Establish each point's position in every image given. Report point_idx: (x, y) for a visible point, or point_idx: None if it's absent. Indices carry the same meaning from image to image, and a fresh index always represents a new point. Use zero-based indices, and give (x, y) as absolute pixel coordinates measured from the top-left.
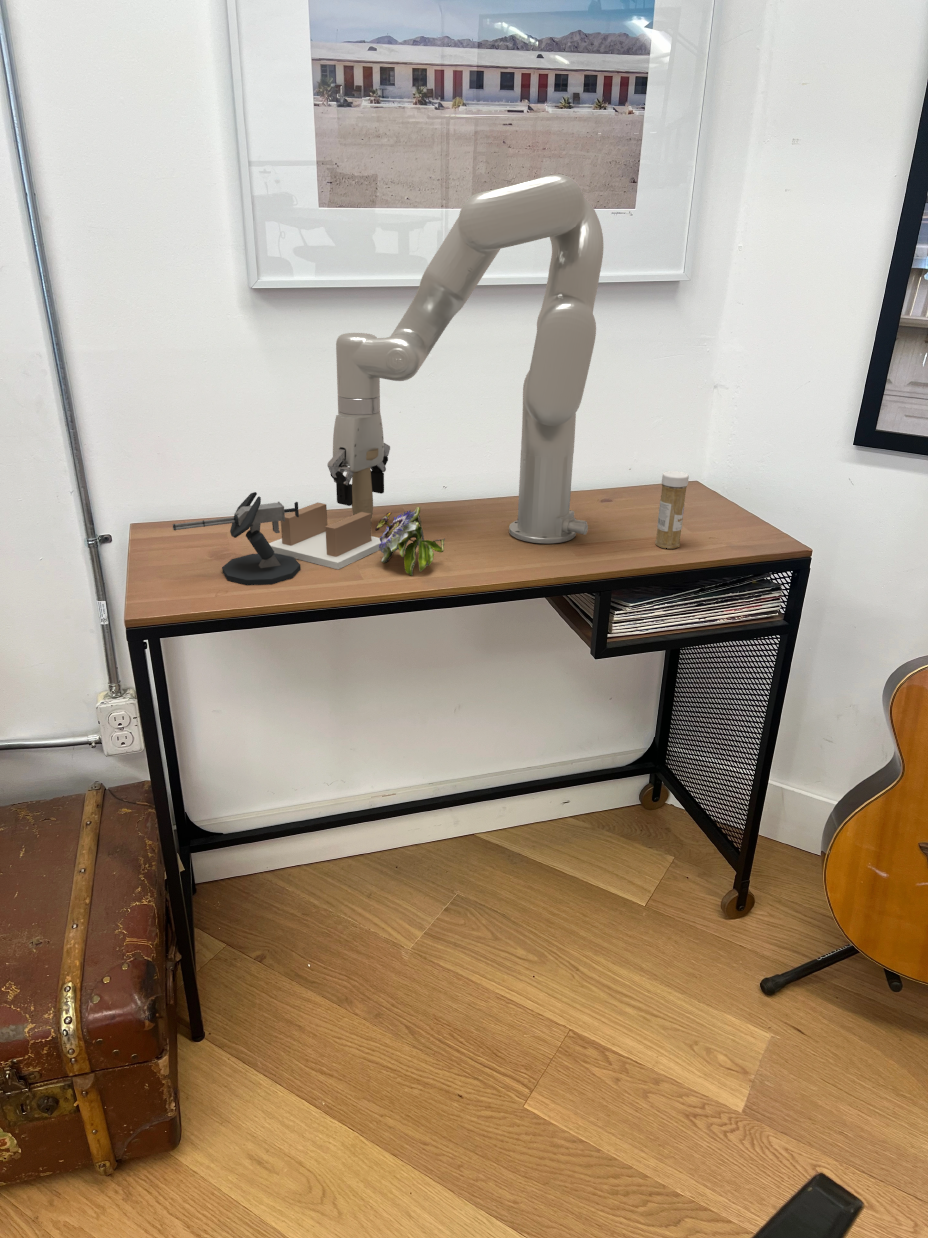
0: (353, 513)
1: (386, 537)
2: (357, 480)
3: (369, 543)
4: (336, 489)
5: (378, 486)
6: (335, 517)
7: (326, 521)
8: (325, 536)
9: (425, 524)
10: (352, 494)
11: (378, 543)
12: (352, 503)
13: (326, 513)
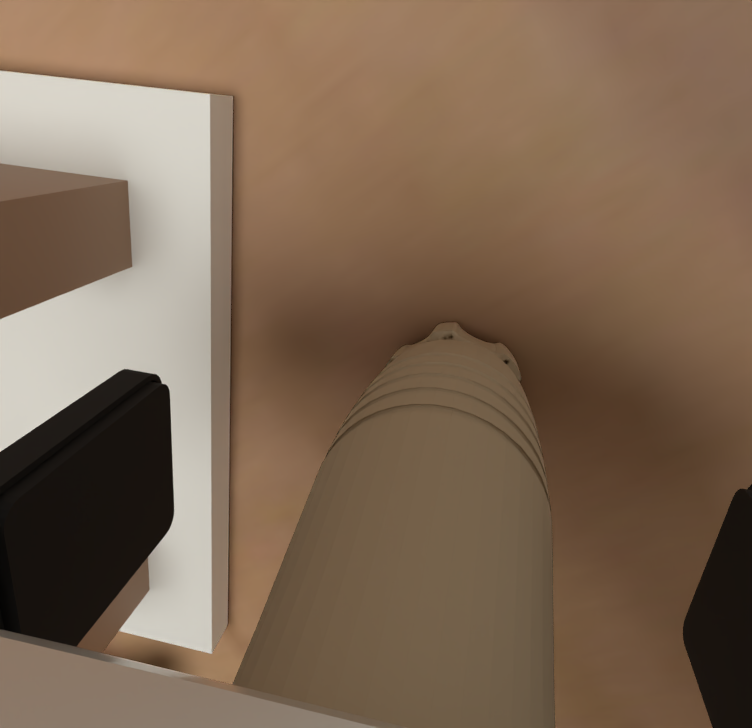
0: (371, 382)
1: None
2: None
3: None
4: (25, 435)
5: (716, 663)
6: (613, 17)
7: (78, 283)
8: (37, 318)
9: (692, 702)
10: (322, 474)
11: (138, 632)
12: (346, 419)
13: (35, 302)
